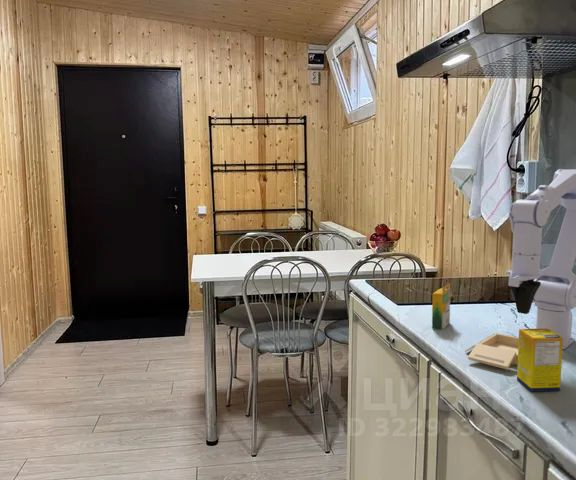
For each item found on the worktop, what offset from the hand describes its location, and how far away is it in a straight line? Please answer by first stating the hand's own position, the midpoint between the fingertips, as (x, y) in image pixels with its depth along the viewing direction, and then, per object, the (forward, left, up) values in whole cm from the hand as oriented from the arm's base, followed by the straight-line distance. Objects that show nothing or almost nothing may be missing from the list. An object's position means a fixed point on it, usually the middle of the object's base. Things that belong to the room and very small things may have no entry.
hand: (523, 312), depth 115 cm
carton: (-1, -3, -10) cm, 11 cm away
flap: (+10, -3, -8) cm, 13 cm away
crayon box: (-10, -25, -11) cm, 29 cm away
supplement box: (+14, +8, -11) cm, 19 cm away
